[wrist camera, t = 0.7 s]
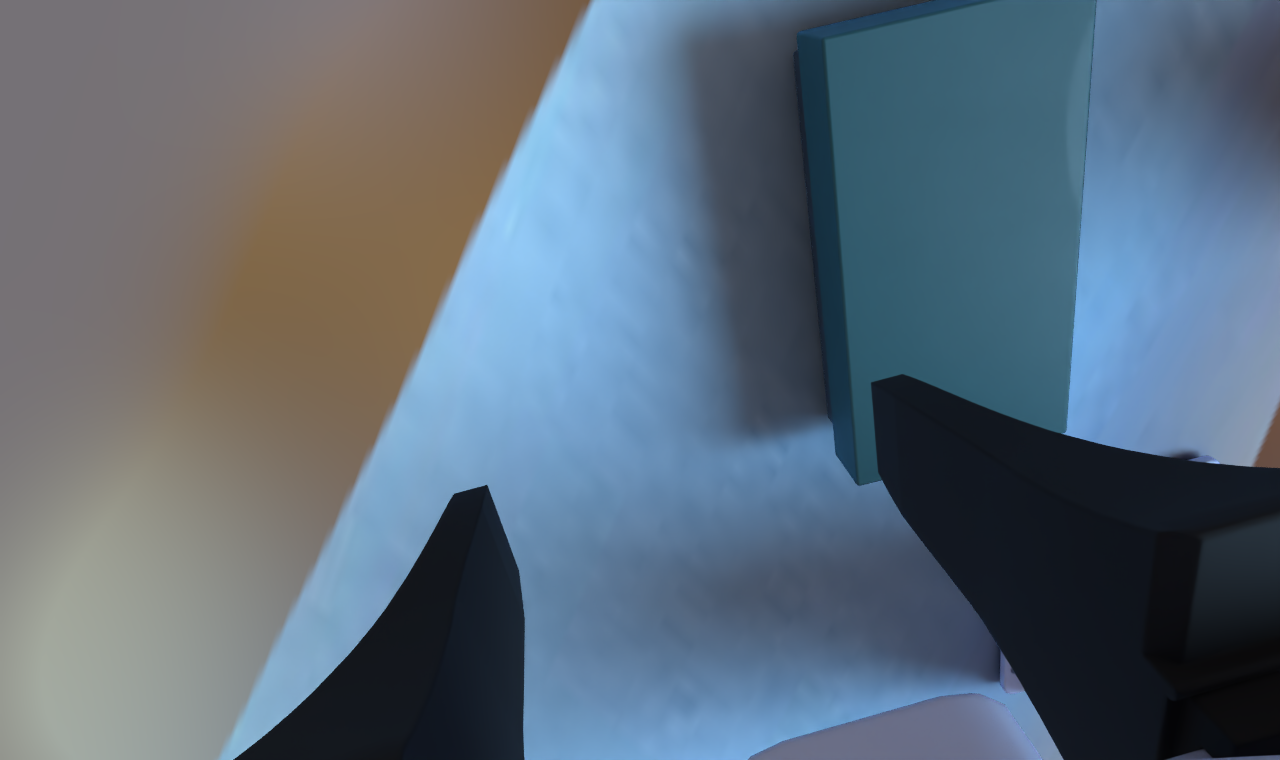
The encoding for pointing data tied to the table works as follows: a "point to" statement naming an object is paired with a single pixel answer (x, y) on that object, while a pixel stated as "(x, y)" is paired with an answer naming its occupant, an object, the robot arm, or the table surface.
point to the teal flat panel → (946, 204)
